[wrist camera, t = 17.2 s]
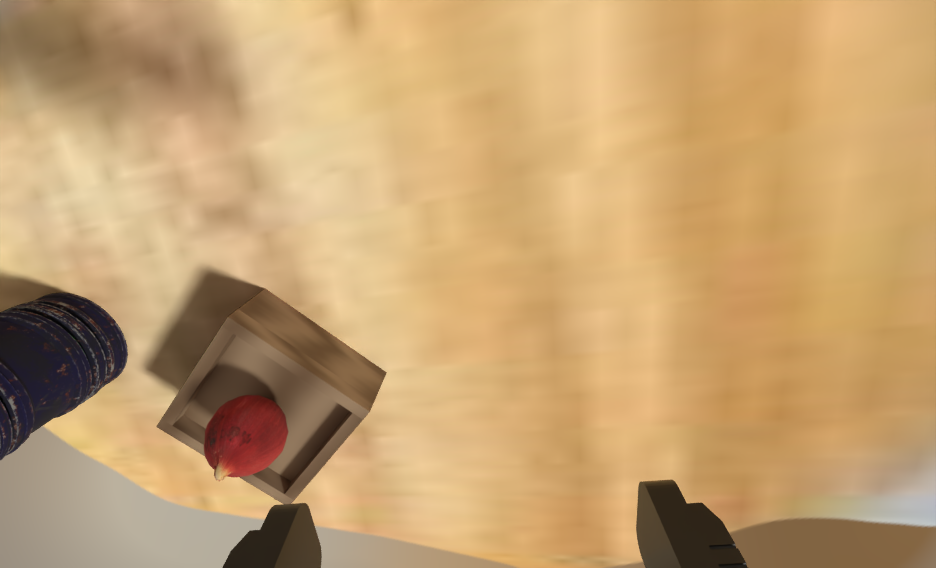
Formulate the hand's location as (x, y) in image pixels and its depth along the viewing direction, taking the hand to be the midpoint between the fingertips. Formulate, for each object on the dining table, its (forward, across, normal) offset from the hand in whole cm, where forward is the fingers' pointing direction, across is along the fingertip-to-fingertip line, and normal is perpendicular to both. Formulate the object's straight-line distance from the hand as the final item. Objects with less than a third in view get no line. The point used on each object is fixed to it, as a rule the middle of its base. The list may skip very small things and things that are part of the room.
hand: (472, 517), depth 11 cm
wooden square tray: (+29, +18, +14) cm, 37 cm away
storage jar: (+30, +38, +9) cm, 49 cm away
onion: (+25, +18, +14) cm, 34 cm away
